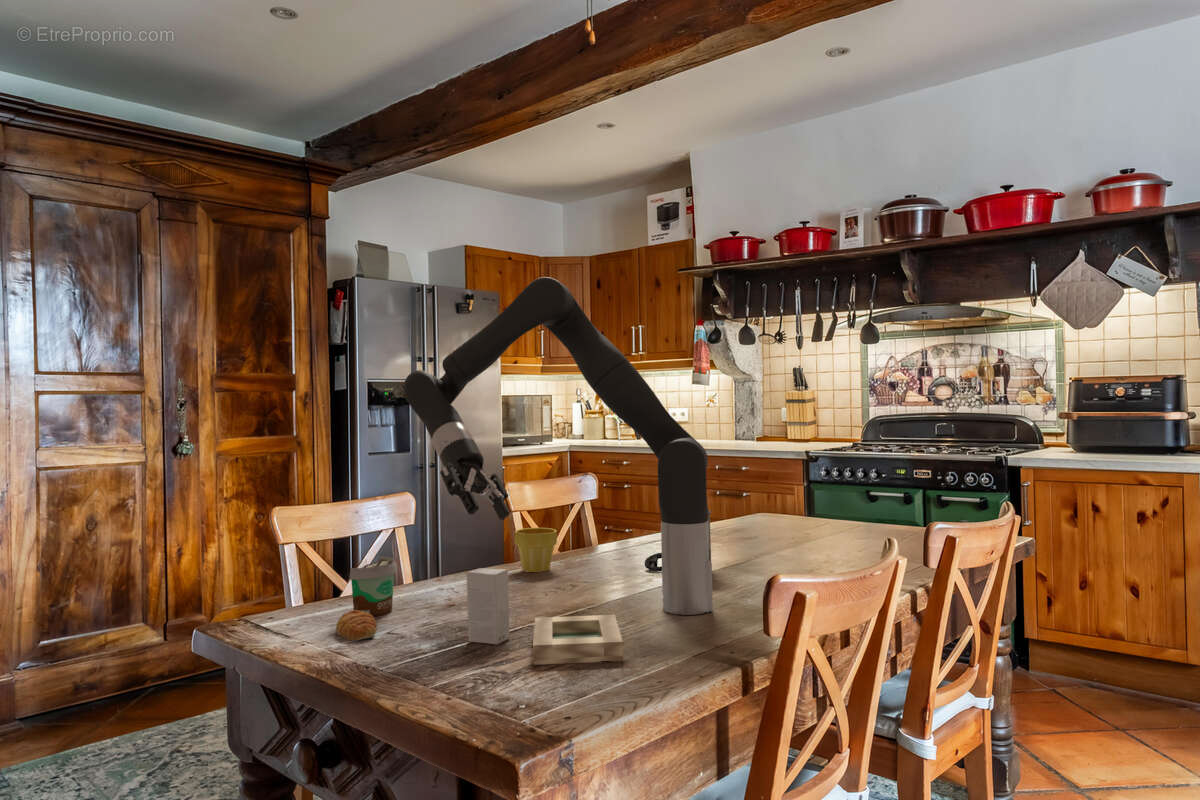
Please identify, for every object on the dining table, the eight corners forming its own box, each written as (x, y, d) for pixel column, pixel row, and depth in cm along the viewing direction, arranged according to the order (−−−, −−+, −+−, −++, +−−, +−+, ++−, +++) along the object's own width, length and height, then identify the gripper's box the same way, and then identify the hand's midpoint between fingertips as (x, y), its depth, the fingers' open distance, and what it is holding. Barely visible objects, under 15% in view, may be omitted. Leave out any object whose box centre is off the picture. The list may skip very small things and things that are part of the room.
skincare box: (510, 638, 135) (509, 569, 135) (497, 645, 131) (495, 574, 131) (481, 634, 138) (479, 567, 138) (467, 641, 134) (465, 571, 134)
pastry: (385, 639, 137) (384, 617, 137) (345, 646, 134) (345, 624, 134) (370, 626, 145) (369, 606, 145) (332, 633, 142) (332, 612, 142)
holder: (615, 631, 138) (614, 614, 138) (623, 661, 122) (622, 641, 122) (535, 634, 137) (535, 617, 137) (533, 664, 121) (532, 645, 121)
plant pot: (561, 566, 196) (561, 527, 196) (552, 575, 186) (551, 534, 186) (521, 565, 198) (521, 527, 198) (510, 574, 188) (509, 533, 188)
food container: (380, 622, 147) (379, 569, 148) (350, 621, 149) (349, 568, 149) (408, 605, 160) (407, 556, 160) (381, 604, 161) (380, 556, 161)
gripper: (443, 430, 146) (477, 496, 138) (493, 444, 158) (527, 506, 149) (418, 456, 148) (450, 523, 140) (470, 468, 160) (502, 530, 151)
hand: (490, 514), depth 145 cm, fingers open, 8 cm apart
